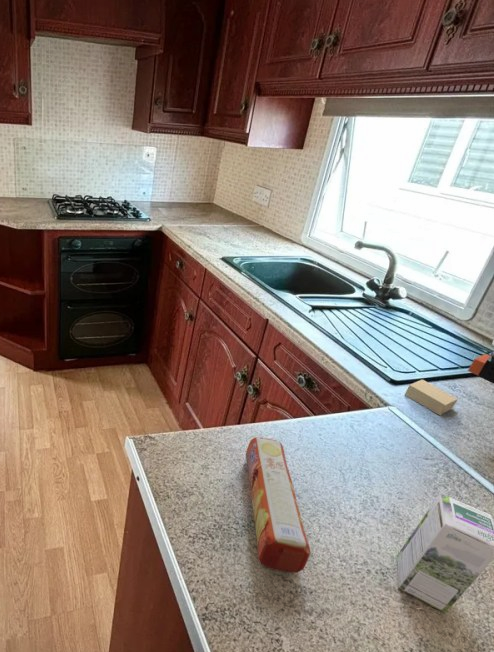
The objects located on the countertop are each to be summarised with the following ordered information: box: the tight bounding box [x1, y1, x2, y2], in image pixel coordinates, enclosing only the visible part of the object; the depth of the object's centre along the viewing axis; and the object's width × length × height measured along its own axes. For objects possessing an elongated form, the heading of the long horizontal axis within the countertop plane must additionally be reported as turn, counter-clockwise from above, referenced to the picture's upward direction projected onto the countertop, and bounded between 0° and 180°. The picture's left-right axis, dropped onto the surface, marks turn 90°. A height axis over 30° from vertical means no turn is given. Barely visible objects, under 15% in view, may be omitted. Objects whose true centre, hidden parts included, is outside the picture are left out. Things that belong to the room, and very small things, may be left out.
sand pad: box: [404, 379, 459, 416], centre depth 97 cm, size 8×6×3 cm
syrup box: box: [396, 493, 494, 614], centre depth 54 cm, size 6×6×14 cm
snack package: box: [245, 436, 311, 574], centre depth 64 cm, size 21×7×7 cm, turn 169°
